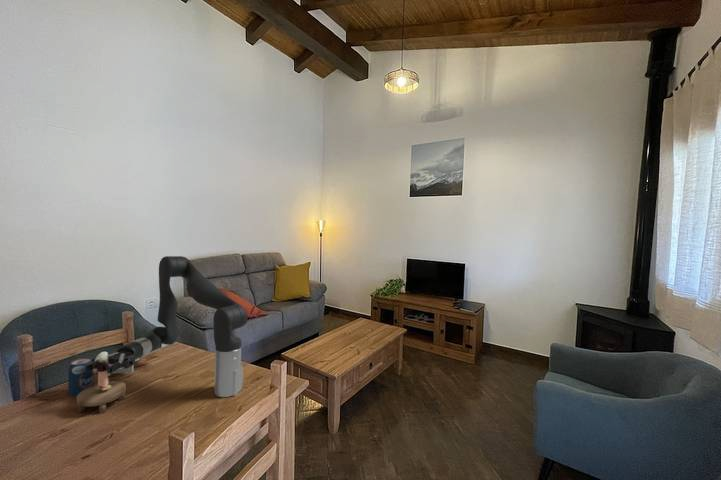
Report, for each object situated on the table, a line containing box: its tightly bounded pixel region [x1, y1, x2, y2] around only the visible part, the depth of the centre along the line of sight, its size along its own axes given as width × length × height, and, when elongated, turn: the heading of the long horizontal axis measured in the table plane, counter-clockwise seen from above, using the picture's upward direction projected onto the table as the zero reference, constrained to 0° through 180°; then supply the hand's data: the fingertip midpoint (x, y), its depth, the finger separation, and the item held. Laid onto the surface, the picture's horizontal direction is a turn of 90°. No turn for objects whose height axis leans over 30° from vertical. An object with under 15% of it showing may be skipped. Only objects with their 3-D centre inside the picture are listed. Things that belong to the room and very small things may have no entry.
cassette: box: [106, 360, 135, 374], centre depth 129 cm, size 12×2×8 cm, turn 96°
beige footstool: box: [76, 380, 127, 415], centre depth 106 cm, size 13×13×5 cm
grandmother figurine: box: [93, 351, 112, 390], centre depth 106 cm, size 8×4×13 cm, turn 85°
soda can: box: [67, 357, 95, 398], centre depth 113 cm, size 7×7×12 cm
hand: (97, 370), depth 104 cm, fingers closed on grandmother figurine, 7 cm apart
